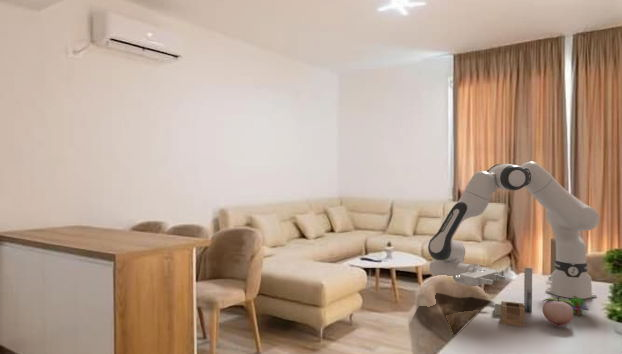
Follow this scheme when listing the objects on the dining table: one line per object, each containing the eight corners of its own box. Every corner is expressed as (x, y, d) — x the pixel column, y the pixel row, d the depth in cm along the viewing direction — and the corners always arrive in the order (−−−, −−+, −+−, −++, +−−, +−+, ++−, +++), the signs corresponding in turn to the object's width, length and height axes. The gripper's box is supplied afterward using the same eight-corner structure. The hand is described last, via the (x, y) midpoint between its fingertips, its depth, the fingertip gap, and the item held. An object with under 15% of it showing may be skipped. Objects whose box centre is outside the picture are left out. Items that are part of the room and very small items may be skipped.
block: (494, 309, 164) (494, 298, 164) (514, 311, 161) (515, 301, 161) (494, 314, 157) (494, 303, 157) (516, 317, 154) (516, 306, 155)
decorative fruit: (546, 329, 143) (546, 298, 143) (540, 321, 150) (540, 292, 150) (578, 332, 140) (578, 301, 140) (570, 323, 148) (570, 294, 148)
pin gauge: (523, 310, 163) (524, 267, 163) (531, 310, 162) (531, 268, 162) (524, 312, 161) (524, 268, 161) (532, 312, 160) (532, 269, 160)
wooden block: (579, 283, 207) (580, 241, 207) (556, 282, 209) (557, 240, 209) (571, 278, 217) (571, 238, 217) (549, 277, 219) (550, 237, 219)
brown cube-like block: (501, 318, 154) (501, 301, 154) (523, 320, 151) (523, 303, 151) (501, 324, 147) (501, 306, 147) (524, 326, 144) (524, 308, 144)
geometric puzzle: (592, 313, 152) (587, 292, 157) (570, 312, 154) (566, 290, 159) (586, 321, 158) (581, 300, 163) (565, 319, 160) (561, 298, 164)
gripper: (452, 270, 174) (485, 276, 163) (478, 264, 187) (510, 269, 177) (452, 285, 174) (485, 293, 163) (478, 278, 187) (510, 284, 177)
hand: (498, 280), depth 170 cm, fingers open, 8 cm apart
